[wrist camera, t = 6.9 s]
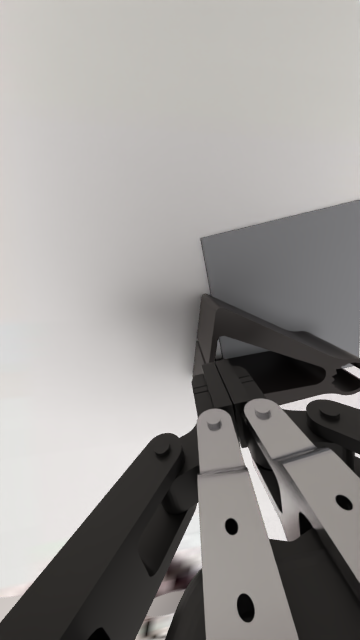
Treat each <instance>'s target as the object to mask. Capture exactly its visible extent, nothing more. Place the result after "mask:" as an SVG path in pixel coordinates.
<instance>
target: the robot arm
mask: <svg viewBox="0 0 360 640" xmlns="http://www.w3.org/2000/svg"><path fill="white" fill-rule="evenodd" d="M201 367H202V371H203V374H199V375H194V377H193V380H192V387H193V393H194V398H195V404H196V409H197V415H198V419H197V423H196V426H195V427H194V428H193V429H192V430H191V431H190V432H189V433H187V434H186V435H184V436H182V437H180V438H178V437H177V436H176V435H174V434H172V433H164V434H160V435H158V436H156V437H155V438H153V439H152V440H151V441H150V442H149V443H148V445H147V446H146V447H145V448H144V449H143V451H142V452H141V453H140V454H139V456H138V457H137V458H136V459H135V460H134V462H133V463H132V464H131V465H130V466H129V468H128V469H127V470H126V471H125V472H124V474H123V475H122V476H121V477H120V479H119V480H118V481H117V482H116V483H115V485H114V486H113V487H112V488H111V489H110V491H109V492H108V493H107V494H106V495H105V497H104V498H103V499H102V500H101V502H100V503H99V504H98V505H97V506H96V508H95V509H94V510H93V511H92V512H91V514H90V515H89V516H88V517H87V518H86V520H85V521H84V522H83V523H82V524H81V526H80V527H79V528H78V529H77V531H76V532H75V533H74V534H73V535H72V537H71V538H70V539H69V540H68V541H67V543H66V544H65V545H64V546H63V547H62V549H61V550H60V551H59V552H58V554H57V555H56V556H55V557H54V558H53V560H52V561H51V562H50V563H49V564H48V566H47V567H46V568H45V569H44V570H43V572H42V573H41V574H40V575H39V576H38V578H37V579H36V580H35V581H34V583H33V584H32V585H31V586H30V587H29V589H28V590H27V591H26V592H25V593H24V595H23V596H22V597H21V598H20V600H19V601H18V602H17V603H16V604H15V606H14V607H13V608H12V609H11V610H10V612H9V613H8V614H7V615H6V616H5V618H4V619H3V620H2V621H1V623H0V640H135V638H136V636H137V634H138V632H139V629H140V627H141V625H142V623H143V621H144V619H145V617H146V614H147V612H148V610H149V608H150V606H151V604H152V602H153V599H154V597H155V595H156V593H157V591H158V589H159V587H160V585H161V582H162V580H163V578H164V576H165V574H166V572H167V570H168V567H169V565H170V563H171V561H172V559H173V557H174V555H175V553H176V550H177V548H178V546H179V544H180V542H181V540H182V538H183V535H184V533H185V531H186V529H187V527H188V525H189V523H190V521H191V518H192V516H193V514H194V512H195V509H196V506H197V503H198V502H199V519H200V537H201V556H202V569H200V570H199V572H198V573H197V574H196V575H195V576H194V578H193V579H192V580H191V582H190V584H189V585H188V587H187V588H186V590H185V592H184V594H183V596H182V598H181V600H180V602H179V604H178V607H177V609H176V612H175V614H174V617H173V620H172V622H171V625H170V628H169V630H168V633H167V636H166V639H165V640H360V458H358V457H356V456H355V453H358V454H360V409H356V408H353V407H350V406H347V405H344V404H341V403H338V402H334V401H330V400H315V401H312V402H310V403H309V404H308V405H307V407H306V411H292V410H284V409H281V408H280V406H279V405H278V404H276V403H275V402H273V401H271V400H268V399H267V398H266V397H265V395H264V394H263V393H262V391H261V390H260V388H259V387H258V386H257V384H256V383H255V381H254V380H253V379H252V377H251V376H250V374H249V373H248V372H247V370H246V369H244V368H243V367H241V366H239V365H238V366H233V367H232V366H231V364H230V363H229V361H228V359H224V360H219V361H215V362H211V363H207V364H202V365H201ZM239 442H240V443H239ZM240 444H241V447H242V448H245V447H248V448H249V450H250V453H251V456H252V462H253V466H254V468H255V470H256V472H257V474H258V476H259V478H260V480H261V482H262V484H263V486H264V488H265V490H266V492H267V494H268V496H269V498H270V500H271V502H272V505H273V507H274V509H275V511H276V513H277V515H278V517H279V519H280V521H281V524H282V526H283V529H284V532H285V535H286V538H287V541H281V540H273V539H269V538H268V535H267V531H266V528H265V525H264V521H263V518H262V515H261V511H260V508H259V505H258V501H257V498H256V494H255V491H254V488H253V484H252V481H251V478H250V475H249V472H248V469H247V467H246V466H245V463H244V460H243V456H242V453H241V450H240Z"/></svg>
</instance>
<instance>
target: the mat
mask: <svg viewBox="0 0 360 640" xmlns="http://www.w3.org/2000/svg"><path fill="white" fill-rule="evenodd" d="M201 243H202V248H203V254H204V259H205V264H206V270H207V275H208V281H209V286H210V291H211V296H213V297H215V298H217V299H219V300H221V301H224V302H226V303H228V304H230V305H232V306H234V307H237V308H239V309H241V310H243V311H245V312H248V313H250V314H252V315H254V316H256V317H259V318H261V319H263V320H265V321H267V322H270V323H272V324H274V325H276V326H278V327H281V328H283V329H285V330H288V331H306V332H309V333H311V334H313V335H315V336H317V337H319V338H321V339H323V340H325V341H327V342H329V343H331V344H333V345H335V346H337V347H339V348H341V349H343V350H345V351H347V352H349V353H351V354H353V355H355V356H357V357H359V343H360V200H357V201H353V202H349V203H345V204H340V205H336V206H332V207H328V208H324V209H320V210H316V211H311V212H307V213H303V214H299V215H295V216H291V217H287V218H282V219H278V220H274V221H270V222H266V223H262V224H258V225H253V226H249V227H245V228H241V229H237V230H233V231H229V232H224V233H220V234H216V235H212V236H208V237H204V238H201ZM219 340H220V345H221V351H222V356H223V359H228V358H234V357H239V356H245V355H250V354H256V353H261V352H267V351H270V350H267V349H264V348H261V347H257V346H254V345H251V344H248V343H245V342H242V341H239V340H236V339H232V338H229V337H226V336H221V337H219ZM352 366H354V365H352V364H350V363H349V364H347V365H345V366H342V367H341V368H347V367H352Z"/></svg>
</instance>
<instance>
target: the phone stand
mask: <svg viewBox="0 0 360 640" xmlns="http://www.w3.org/2000/svg"><path fill="white" fill-rule="evenodd" d="M221 336H226V337H229V338H232V339H236V340H239V341H242V342H245V343H248V344H251V345H254V346H257V347H261V348H264V349H267V350H270V351H267V352H261V353H256V354H250V355H245V356H239V357H234V358H228V361H229V363H230V364H231V366H232V367H233V366H238V365H239V366H241V367H243V368H244V369H246V370H247V372H248V373H249V374H250V376H251V377H252V379H253V380H254V381H255V383H256V384H257V386H258V387H259V388H260V390H261V391H262V393H263V394H264V395H265V397H266V398H267V399H268V400H271V401H273V402H275V403H276V404H278V405H282V404H286V403H290V402H294V401H298V400H302V399H305V398H309V397H313V396H317V395H321V394H328V393H335V394H341V395H351V394H355V393H357V392H359V391H360V379H359V378H358V377H356V376H354V375H353V374H351V373H349V372H348V371H346V370H345V369H343V368H341V367H342V366H345V365H347V364H349V363H350V364H352V365H354V366H356V367H357V368H359V369H360V358H359V357H357V356H355V355H353V354H351V353H349V352H347V351H345V350H343V349H341V348H339V347H337V346H335V345H333V344H331V343H329V342H327V341H325V340H323V339H321V338H319V337H317V336H315V335H313V334H311V333H309V332H306V331H288V330H285V329H283V328H281V327H278V326H276V325H274V324H272V323H270V322H267V321H265V320H263V319H261V318H259V317H256V316H254V315H252V314H250V313H248V312H245V311H243V310H241V309H239V308H237V307H234V306H232V305H230V304H228V303H226V302H224V301H221V300H219V299H217V298H215V297H213V296H210V295H208V294H203V295H202V297H201V305H200V314H199V323H198V332H197V339H198V341H196V351H195V360H194V369H193V377H194V375H199V374H203V371H202V367H201V365H202V364H207V363H211V362H215V355H216V348H217V341H218V339H219V337H221ZM223 360H224V359H223ZM218 361H219V360H218Z"/></svg>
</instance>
